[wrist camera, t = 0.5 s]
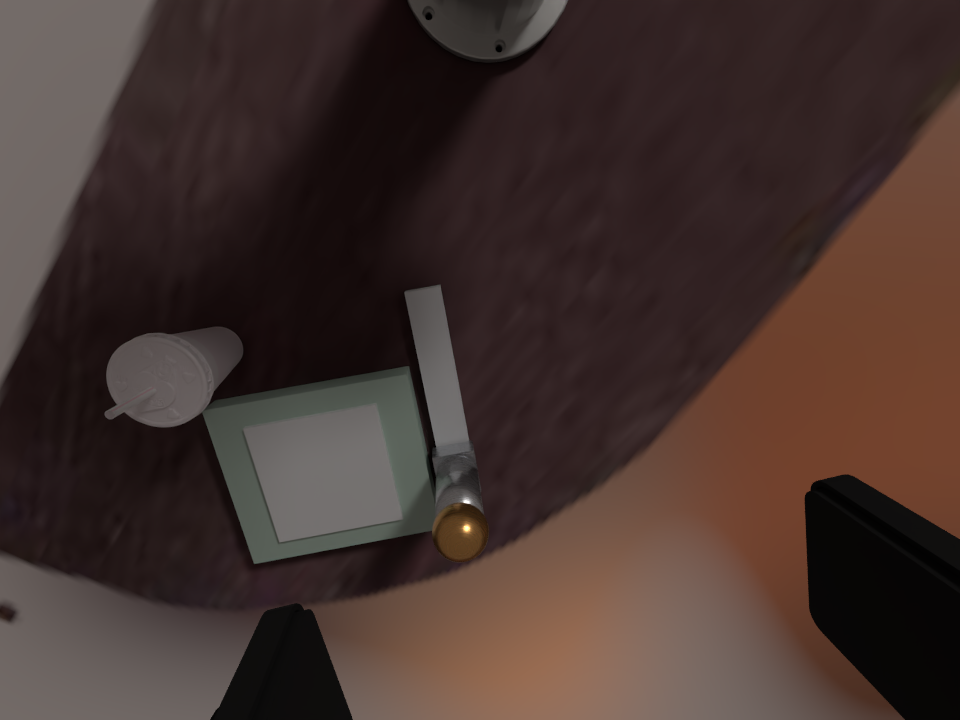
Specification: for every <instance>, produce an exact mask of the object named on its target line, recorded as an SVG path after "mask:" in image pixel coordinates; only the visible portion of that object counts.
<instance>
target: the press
mask: <svg viewBox="0 0 960 720" xmlns="http://www.w3.org/2000/svg"><path fill="white" fill-rule="evenodd" d="M404 294H405V298H406V303H407V308H408V313H409V318H410V323H411V328H412V332H413V337H414V342H415V347H416V352H417V357H418V361H419V366H420V371H421V376H422V381H423V386H424V390H425V395H426V400H427V405H428V410H429V415H430V420H431V424H432V429H433V434H434V439H435V444H436V447H440V446H445V445H451V444H456V443H462V442H467V441H469V437H468V432H467V426H466V421H465V415H464V410H463V405H462V399H461V394H460V388H459V383H458V378H457V372H456V367H455V361H454V356H453V351H452V345H451V340H450V334H449V329H448V324H447V318H446V313H445V307H444V302H443V297H442V291H441V286H440V285H436V286H430V287H424V288H418V289H413V290H407V291H405V292H404ZM202 413H203V416H204V419H205V422H206V425H207V428H208V431H209V434H210V437H211V440H212V443H213V445H214V448H215V451H216V454H217V457H218V460H219V463H220V466H221V469H222V472H223V475H224V477H225V480H226V483H227V486H228V489H229V492H230V495H231V498H232V501H233V504H234V507H235V509H236V512H237V515H238V518H239V521H240V524H241V527H242V530H243V533H244V536H245V539H246V541H247V544H248V547H249V550H250V553H251V556H252V559H253V562H254V564H257V563H262V562H267V561H273V560H278V559H283V558H289V557H294V556H299V555H305V554H310V553H315V552H321V551H326V550H331V549H337V548H342V547H347V546H353V545H358V544H363V543H368V542H374V541H379V540H384V539H390V538H395V537H400V536H406V535H411V534H416V533H422V532H427V531H432V528H433V523H434V520H435V505H436V491H435V486H434V482H433V477H432V472H431V467H430V463H429V458H428V453H427V449H426V444H425V439H424V435H423V430H422V425H421V420H420V416H419V411H418V406H417V402H416V397H415V392H414V388H413V383H412V378H411V373H410V369H409V366H406V367H400V368H394V369H389V370H383V371H378V372H372V373H366V374H361V375H355V376H349V377H344V378H338V379H333V380H327V381H321V382H316V383H310V384H305V385H299V386H293V387H288V388H282V389H277V390H271V391H265V392H260V393H254V394H248V395H243V396H237V397H232V398H226V399H220V400H215V401H214V402H213V403H211V404H210V405H209V406H207V407H206V408H205V409H204V410H203V411H202Z"/></svg>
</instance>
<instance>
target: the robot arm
mask: <svg viewBox="0 0 960 720" xmlns="http://www.w3.org/2000/svg"><path fill="white" fill-rule="evenodd" d="M567 1H568V0H407V2H408V5H409V7H410V9H411V11H412V12H413V14H414V16H415V18H416V20H417V21H418V23H419V24H420V25H421V27H422V28H423V29H424V30H425V32H426V33H427V34H428V35H429V37H431V38H432V39H433V40H434V41H435V42H436V43H438V44H439V45H440V46H441V47H442V48H444V49H445V50H447V51H449V52H451V53H452V54H454V55H456V56H458V57H461V58H464V59H467V60H470V61H475V62H484V63H493V62H502V61H506V60H509V59H512V58H515V57H518V56H520V55H522V54H524V53H526V52H527V51H529V50H531V49H532V48H534V47H535V46H536V45H537V44H538V43H539V42H541V41H542V40H543V39H544V38H545V37H546V36H547V35H548V33H549V32H550V31H551V29H552V28H553V27H554V25H555V24H556V23H557V21H558V19H559V17H560V16H561V14H562V12H563V10H564V8H565V6H566V4H567ZM426 15H431V16H432V19H431V20H426V18H425V17H426ZM496 47H501V49H502V52H500V53H499V52H497V51H496V49H495V48H496ZM805 517H806V540H807V541H806V542H807V564H808V565H807V566H808V590H809V609H810V613H811V616H812V618H813V620H814V622H815V624H816V625H817V627H818V628H819V629H820V630H821V631H822V633H823V634H824V635H825V636H826V637H827V638H828V639H829V640H830V641H831V642H832V643H833V644H834V645H835V646H836V648H837V649H838V650H839V651H840V652H841V653H842V654H843V655H844V656H845V657H846V658H847V659H848V660H849V661H850V662H851V663H852V664H853V665H854V666H855V667H856V669H857V670H858V671H859V672H860V673H861V674H862V675H863V676H864V677H865V678H866V679H867V680H868V681H869V682H870V683H871V684H872V685H873V686H874V687H875V688H876V689H877V691H878V692H879V693H880V694H881V695H882V696H883V697H884V698H885V699H886V700H887V701H888V702H889V703H890V704H891V705H892V706H893V707H894V709H895V710H897V712H898V713H899V714H900V715H901V716H902V717H903V718H904V719H905V720H960V539H958V538H957V537H955V536H953V535H951V534H950V533H948V532H947V531H945V530H943V529H941V528H940V527H938V526H936V525H935V524H933V523H931V522H929V521H928V520H926V519H925V518H923V517H921V516H919V515H918V514H916V513H914V512H913V511H911V510H909V509H908V508H906V507H904V506H903V505H901V504H899V503H898V502H896V501H894V500H893V499H891V498H889V497H887V496H886V495H884V494H882V493H881V492H879V491H877V490H876V489H874V488H872V487H870V486H869V485H867V484H866V483H864V482H862V481H860V480H859V479H857V478H855V477H853V476H850V475H840V476H836V477H832V478H827V479H824V480H819V481H816V482H814V483H813V484H812V486H811V491H809V492H807V493H806V495H805ZM210 720H353V719H352V716H351V713H350V710H349V708H348V705H347V702H346V700H345V697H344V694H343V691H342V689H341V686H340V683H339V681H338V678H337V675H336V672H335V670H334V667H333V664H332V662H331V660H330V656H329V654H328V651H327V648H326V645H325V643H324V640H323V637H322V635H321V632H320V629H319V626H318V624H317V621H316V618H315V615H314V613H313V611H312V610H310V609H307V610H304V609H303V607H302V606H301V605H300V604H297V603H296V604H292V605H287V606H283V607H279V608H275V609H270V610H267V611H266V612H264V614H263V615H262V617H261V619H260V621H259V623H258V626H257V628H256V630H255V632H254V634H253V636H252V638H251V640H250V642H249V645H248V647H247V649H246V651H245V654H244V656H243V657H242V660H241V662H240V664H239V666H238V668H237V670H236V672H235V675H234V677H233V679H232V681H231V683H230V685H229V687H228V690H227V692H226V694H225V696H224V698H223V700H222V702H221V704H220V707H219V708H218V709H217V710H216V711H215V713H214V714H213V716H212V717H211V719H210Z"/></svg>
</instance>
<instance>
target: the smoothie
mask: <svg viewBox="0 0 960 720" xmlns="http://www.w3.org/2000/svg"><path fill="white" fill-rule="evenodd" d="M242 356H243V345H242V342H241V340H240V338H239V337H238V336H237V334H235V333H234V332H233V331H231V330H230V329H228V328H225V327H210V328H205V329H199V330H193V331H187V332H181V333H176V334H165V333H147V334H144V335H141V336H138V337H135V338H133V339H132V340H130V341H128V342H126V343H124V344H123V345H121V346H120V347H119V348H118V349H117V350H116V351H115V352H114V353H113V355H112V356H111V358H110V360H109V363H108V366H107V372H106V380H107V385H108V389H109V392H110V394H111V396H112V398H113V400H114V401H115V403H116V404H117V405H116V406H114V407H113V408H111V409H109V410H107V411H106V412H105V417H106V418H108V419H113V418H115V417H117V416H118V415H120V414H122V413H124V412H125V413H126V414H127V415H128V416H130V417H131V418H133V419H134V420H136V421H138V422H140V423H143V424H146V425H149V426H154V427H174V426H178V425H181V424H184V423H186V422H188V421H189V420H191V419H193V418H194V417H196V416H197V415H199V414H200V413H202V411H203V410H204V409H205V408H206V407H207V405H208V404H209V402H210V400H211V397H212V395H213V392H214V391H215V389H216V388H217V387H218V386H219V385H220V384H221V382H222V381H223V380H224V379H225V378H226V377H227V375H228V374H229V373H230V372H231V371H232V370H233V368H234V367H235V366H236V365H237V364H238V363H239V361H240V360H241V358H242Z"/></svg>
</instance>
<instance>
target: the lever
mask: <svg viewBox="0 0 960 720" xmlns="http://www.w3.org/2000/svg"><path fill="white" fill-rule="evenodd" d="M432 460H433V464H434V469H435V474H436V505H435V520H434V523H433V528H432V538H433V542H434V545H435V547H436V549H437V550H438V552H439V553H440V554H441V555H442V556H443V557H445V558H446V559H448V560H450V561H453V562H467V561H470V560H472V559H474V558H475V557H477V556H478V555H479V554H480V553H481V552H482V551H483V549H484V548H485V546H486V544H487V541H488V536H489V528H488V523H487V520H486V518H485V516H484V513H483V506H482V499H481V492H480V491H481V487H480V480H479V475H478V469H477V464H476V458H475V453H474V447H473V442H472V441H467V442H462V443H456V444H451V445H445V446H440V447H435V448H433V450H432Z"/></svg>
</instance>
